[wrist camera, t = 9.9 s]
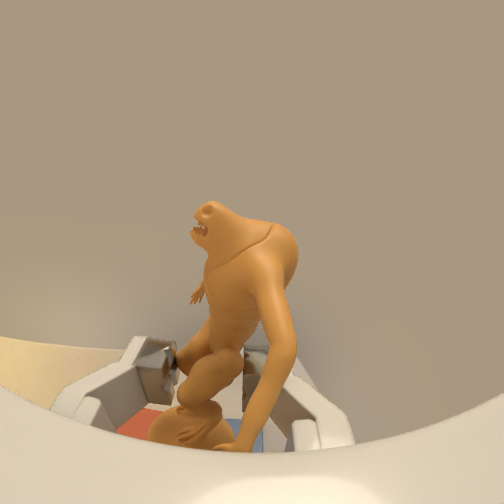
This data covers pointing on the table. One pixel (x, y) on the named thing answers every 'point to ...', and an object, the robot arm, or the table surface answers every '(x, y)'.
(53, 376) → the table surface
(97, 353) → the table surface
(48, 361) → the table surface
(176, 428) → the figurine
